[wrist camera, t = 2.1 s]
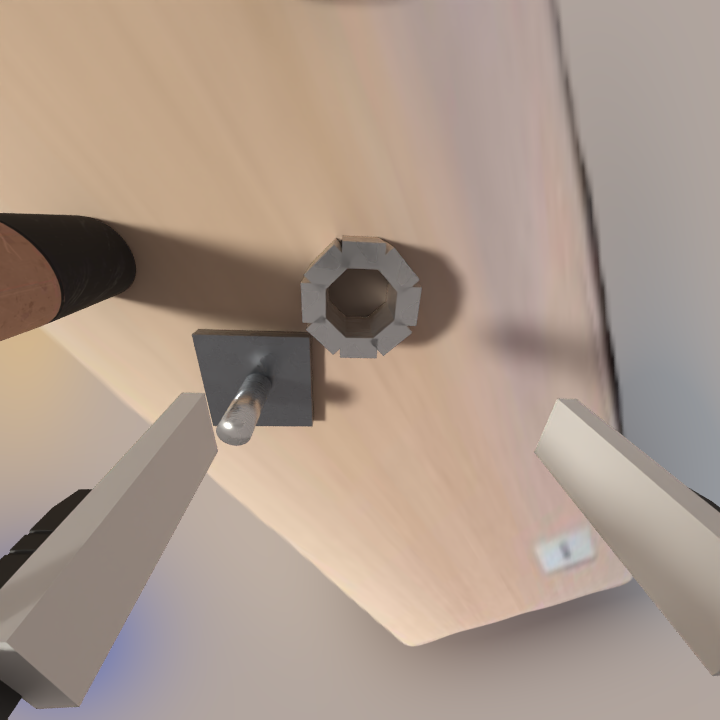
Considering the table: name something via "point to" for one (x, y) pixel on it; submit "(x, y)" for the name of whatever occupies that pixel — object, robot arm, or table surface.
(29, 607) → the robot arm
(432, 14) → the table surface
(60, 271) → the travel mug
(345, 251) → the ring
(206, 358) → the shaft block
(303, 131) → the table surface
